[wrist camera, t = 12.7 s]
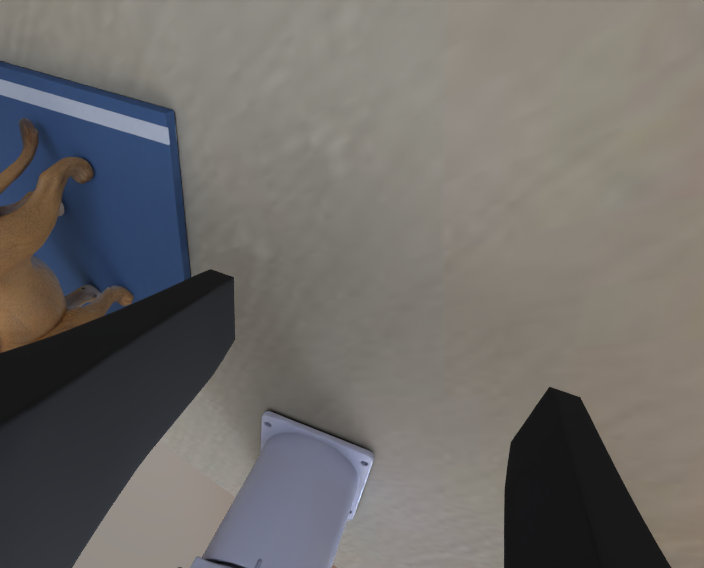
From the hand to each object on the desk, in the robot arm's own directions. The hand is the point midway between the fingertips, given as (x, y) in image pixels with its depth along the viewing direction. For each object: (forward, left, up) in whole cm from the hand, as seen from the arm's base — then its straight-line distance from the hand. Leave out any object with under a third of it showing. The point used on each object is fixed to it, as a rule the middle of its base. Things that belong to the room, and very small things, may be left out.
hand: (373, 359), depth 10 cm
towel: (-8, +19, -9) cm, 22 cm away
